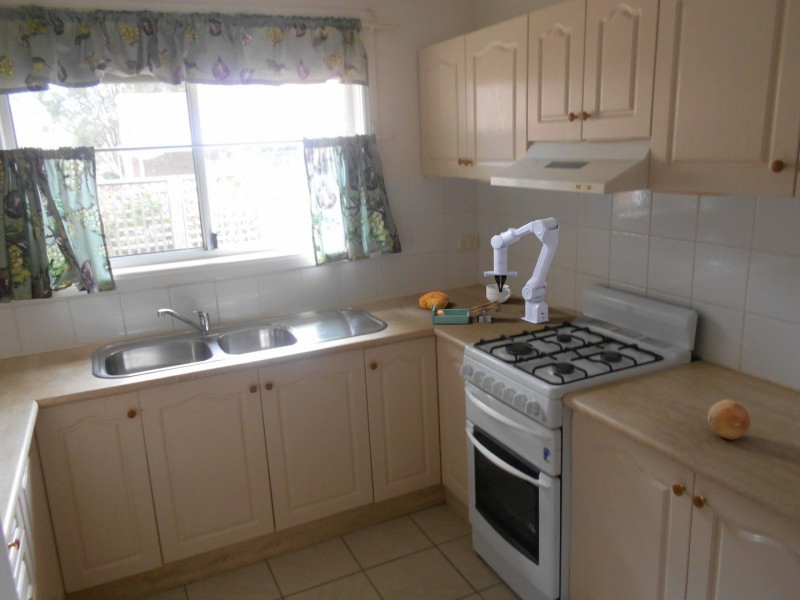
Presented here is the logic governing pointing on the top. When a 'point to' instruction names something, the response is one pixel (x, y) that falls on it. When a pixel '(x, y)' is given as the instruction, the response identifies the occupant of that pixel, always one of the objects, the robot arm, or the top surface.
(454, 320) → the tray
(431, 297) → the croissant
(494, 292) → the teacup
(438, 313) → the ball
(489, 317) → the launcher stand
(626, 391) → the top surface
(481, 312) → the chute
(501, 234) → the robot arm
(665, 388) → the top surface
